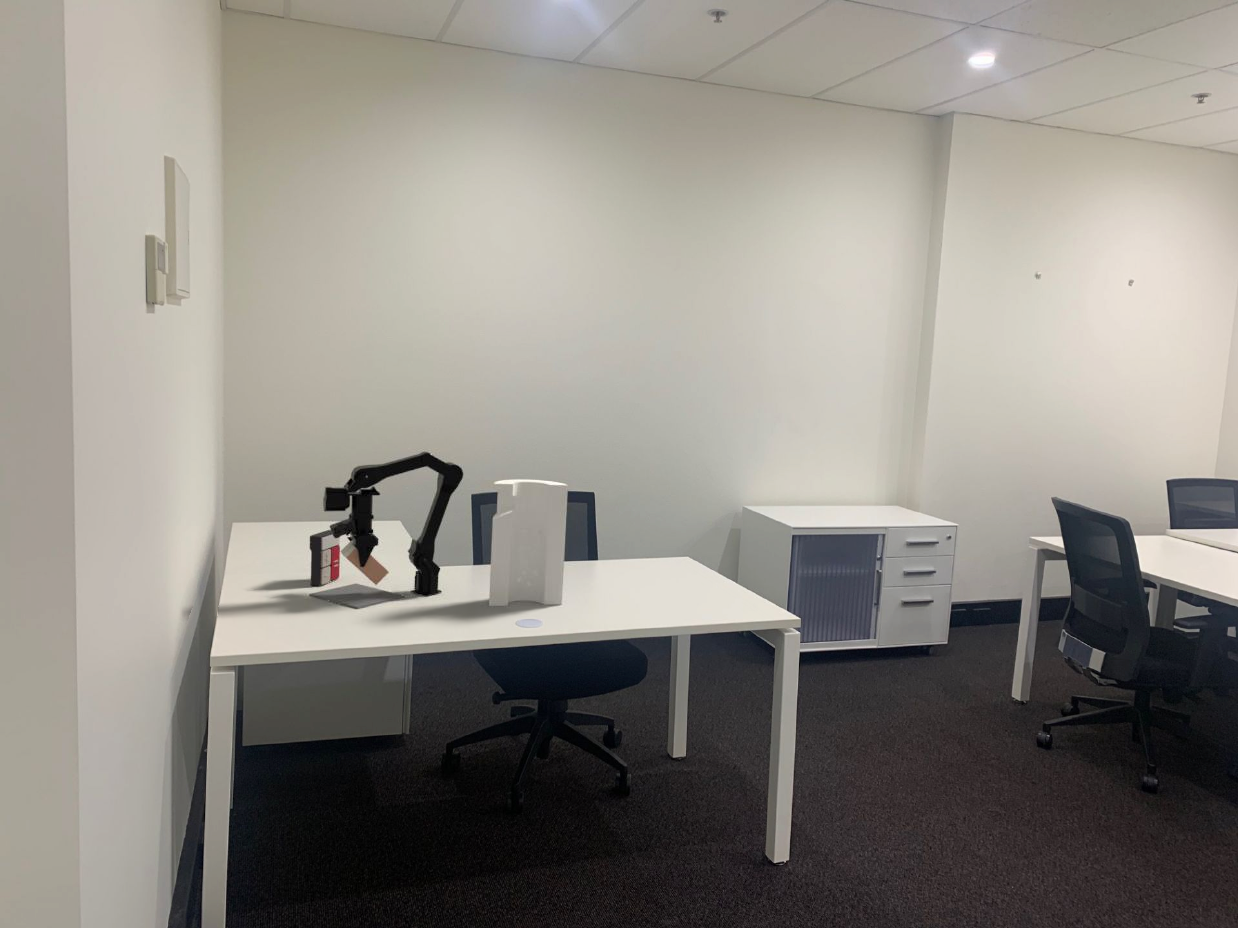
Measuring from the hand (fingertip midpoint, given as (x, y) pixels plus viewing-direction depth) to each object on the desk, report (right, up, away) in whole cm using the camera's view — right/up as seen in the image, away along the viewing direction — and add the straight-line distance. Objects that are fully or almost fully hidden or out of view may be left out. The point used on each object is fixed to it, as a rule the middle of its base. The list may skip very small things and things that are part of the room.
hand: (360, 564), depth 251 cm
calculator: (-15, -7, +15) cm, 22 cm away
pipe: (+46, -11, +6) cm, 47 cm away
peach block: (+5, -4, +3) cm, 7 cm away
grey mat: (-1, -9, +1) cm, 9 cm away
